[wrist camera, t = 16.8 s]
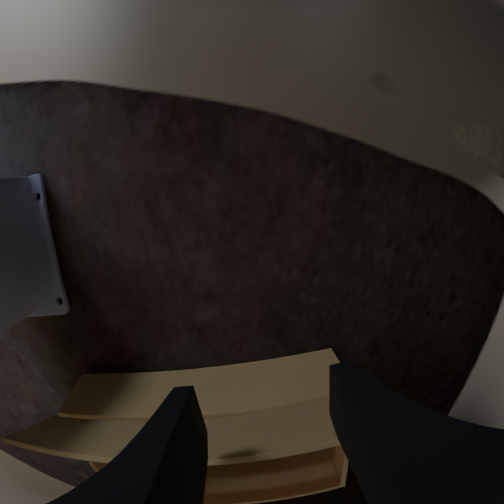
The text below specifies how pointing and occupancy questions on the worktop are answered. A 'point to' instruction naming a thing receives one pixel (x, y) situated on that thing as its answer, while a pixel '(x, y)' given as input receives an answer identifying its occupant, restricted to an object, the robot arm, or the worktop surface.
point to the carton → (224, 405)
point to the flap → (219, 432)
